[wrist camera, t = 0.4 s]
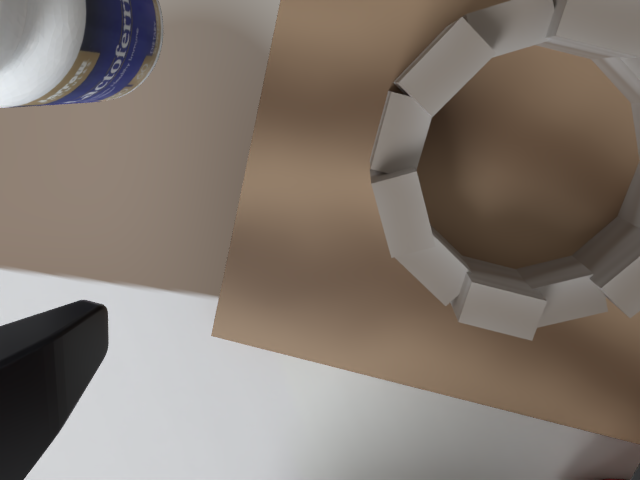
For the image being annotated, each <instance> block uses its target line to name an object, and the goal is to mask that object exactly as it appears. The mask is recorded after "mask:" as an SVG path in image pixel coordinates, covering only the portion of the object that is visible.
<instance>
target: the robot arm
mask: <svg viewBox="0 0 640 480" xmlns="http://www.w3.org/2000/svg"><path fill="white" fill-rule="evenodd" d="M107 349H108V311H107V308H106V307H105V306H104V305H103V304H99V303H95V302H91V301H87V300H80V301H77V302H74V303H70V304H67V305H64V306H61V307H58V308H55V309H52V310H49V311H46V312H43V313H40V314H37V315H33V316H30V317H27V318H24V319H21V320H18V321H15V322H12V323H9V324H6V325H3V326H0V480H24V478H25V477H26V476H27V474H28V473H29V472H30V470H31V469H32V468H33V466H34V465H35V464H36V463H37V461H38V460H39V459H40V457H41V456H42V455H43V453H44V452H45V451H46V449H47V448H48V447H49V445H50V444H51V443H52V441H53V440H54V439H55V437H56V436H57V434H58V433H59V432H60V430H61V429H62V427H63V425H64V424H65V422H66V421H67V419H68V418H69V416H70V414H71V413H72V411H73V409H74V408H75V406H76V404H77V403H78V401H79V399H80V398H81V396H82V394H83V393H84V391H85V389H86V388H87V386H88V384H89V383H90V381H91V379H92V378H93V376H94V374H95V373H96V371H97V369H98V368H99V366H100V364H101V363H102V361H103V359H104V357H105V355H106V353H107ZM631 480H640V463H639V465H638V467H637V469H636V470H635V472H634V474H633V476H632V478H631Z"/></svg>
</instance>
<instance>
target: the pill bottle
mask: <svg viewBox="0 0 640 480" xmlns="http://www.w3.org/2000/svg"><path fill="white" fill-rule="evenodd" d="M162 40H163V19H162V12H161V8H160V4H159V1H158V0H0V108H8V107H9V108H10V107H25V106H41V105H57V104H72V103H86V102H102V101H107V100H112V99H115V98H119V97H121V96H124V95H126V94H128V93H130V92H131V91H133V90H134V89H135V88H137V87H138V86H139V85H140V84H141V83H142V82H143V81H144V80H145V79H146V78H147V77H148V76H149V74H150V73H151V72H152V70H153V68H154V67H155V65H156V62H157V60H158V58H159V55H160V51H161V47H162Z"/></svg>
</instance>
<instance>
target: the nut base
mask: <svg viewBox="0 0 640 480" xmlns="http://www.w3.org/2000/svg"><path fill="white" fill-rule="evenodd" d="M211 336H214V337H218V338H222V339H226V340H230V341H234V342H238V343H241V344H245V345H249V346H253V347H257V348H261V349H265V350H269V351H273V352H277V353H281V354H285V355H289V356H293V357H297V358H301V359H305V360H309V361H313V362H316V363H320V364H324V365H328V366H332V367H336V368H340V369H344V370H348V371H352V372H356V373H360V374H364V375H368V376H372V377H376V378H380V379H384V380H388V381H392V382H395V383H399V384H403V385H407V386H411V387H415V388H419V389H423V390H427V391H431V392H435V393H439V394H443V395H447V396H451V397H455V398H459V399H463V400H467V401H471V402H474V403H478V404H482V405H486V406H490V407H494V408H498V409H502V410H506V411H510V412H514V413H518V414H522V415H526V416H530V417H534V418H538V419H542V420H546V421H549V422H553V423H557V424H561V425H565V426H569V427H573V428H577V429H581V430H585V431H589V432H593V433H597V434H601V435H605V436H609V437H613V438H617V439H621V440H625V441H628V442H632V443H636V444H640V0H281V1H280V5H279V11H278V15H277V20H276V25H275V30H274V34H273V39H272V44H271V49H270V54H269V59H268V63H267V69H266V73H265V78H264V83H263V88H262V93H261V97H260V103H259V107H258V112H257V117H256V122H255V126H254V131H253V136H252V141H251V147H250V151H249V156H248V160H247V165H246V170H245V175H244V180H243V185H242V190H241V195H240V199H239V204H238V209H237V214H236V219H235V223H234V228H233V233H232V238H231V243H230V248H229V252H228V257H227V263H226V267H225V272H224V277H223V281H222V287H221V291H220V296H219V301H218V306H217V311H216V315H215V320H214V325H213V330H212V335H211Z"/></svg>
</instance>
